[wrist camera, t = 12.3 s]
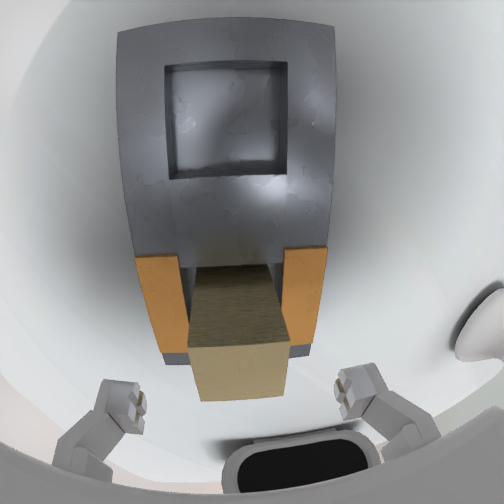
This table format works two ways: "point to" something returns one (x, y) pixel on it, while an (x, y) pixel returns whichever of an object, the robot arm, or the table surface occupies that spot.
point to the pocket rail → (227, 161)
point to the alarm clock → (297, 460)
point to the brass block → (237, 334)
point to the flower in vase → (483, 331)
